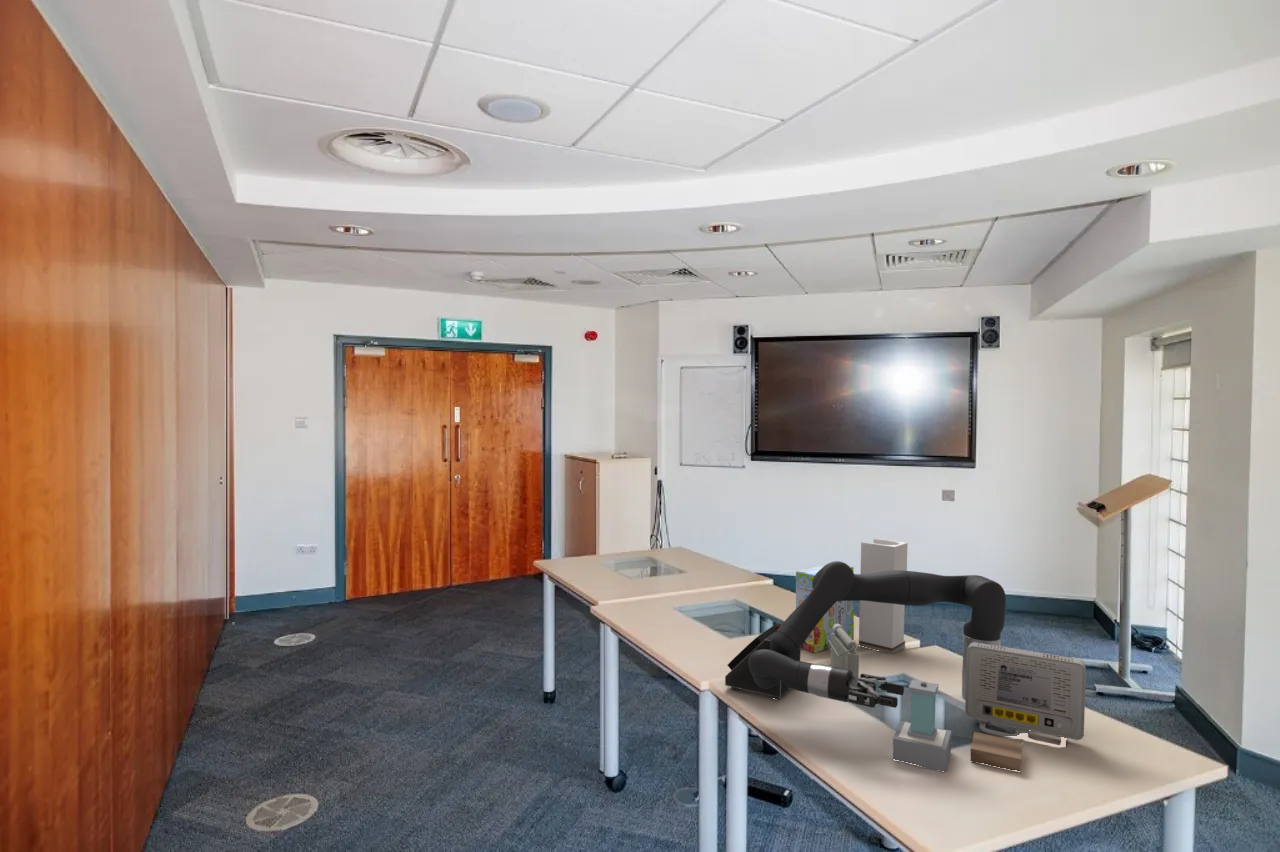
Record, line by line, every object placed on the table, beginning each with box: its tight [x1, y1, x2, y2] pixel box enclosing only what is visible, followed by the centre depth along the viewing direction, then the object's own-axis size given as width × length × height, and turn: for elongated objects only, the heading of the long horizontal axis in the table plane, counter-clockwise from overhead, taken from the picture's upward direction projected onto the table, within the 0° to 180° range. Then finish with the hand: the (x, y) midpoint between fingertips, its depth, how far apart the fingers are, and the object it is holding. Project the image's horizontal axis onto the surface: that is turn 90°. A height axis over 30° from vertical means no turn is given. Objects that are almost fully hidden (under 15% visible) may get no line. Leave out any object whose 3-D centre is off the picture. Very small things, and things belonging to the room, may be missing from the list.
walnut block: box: [970, 731, 1023, 771], centre depth 165 cm, size 10×10×3 cm
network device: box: [964, 642, 1087, 741], centre depth 178 cm, size 26×9×20 cm, turn 59°
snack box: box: [795, 564, 855, 653], centre depth 245 cm, size 22×9×26 cm, turn 128°
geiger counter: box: [828, 624, 860, 678], centre depth 215 cm, size 14×6×25 cm
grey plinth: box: [892, 720, 952, 773], centre depth 165 cm, size 11×11×5 cm
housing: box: [907, 679, 939, 741], centre depth 165 cm, size 6×6×12 cm
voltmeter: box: [724, 623, 802, 700], centre depth 206 cm, size 16×16×20 cm
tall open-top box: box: [858, 538, 909, 655], centre depth 243 cm, size 11×11×35 cm
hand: (900, 696), depth 167 cm, fingers open, 8 cm apart
